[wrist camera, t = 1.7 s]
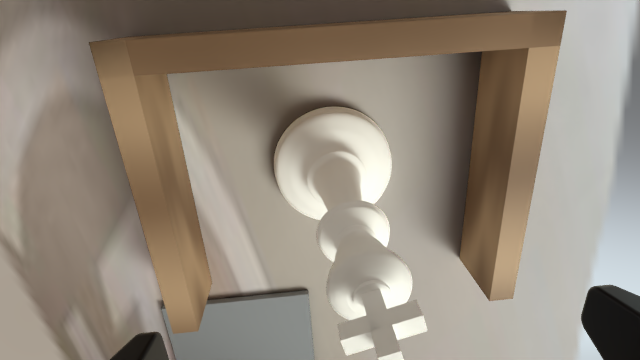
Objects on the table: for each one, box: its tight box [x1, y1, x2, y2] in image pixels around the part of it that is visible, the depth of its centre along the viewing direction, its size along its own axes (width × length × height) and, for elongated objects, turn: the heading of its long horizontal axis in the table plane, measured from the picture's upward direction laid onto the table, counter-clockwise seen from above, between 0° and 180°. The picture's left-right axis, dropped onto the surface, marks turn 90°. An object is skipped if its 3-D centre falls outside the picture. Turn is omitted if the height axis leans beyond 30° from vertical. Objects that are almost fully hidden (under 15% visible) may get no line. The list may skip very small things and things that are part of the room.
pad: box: [161, 290, 314, 360], centre depth 20 cm, size 7×7×1 cm
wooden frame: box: [89, 11, 567, 334], centre depth 15 cm, size 11×14×3 cm
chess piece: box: [274, 107, 427, 360], centre depth 11 cm, size 5×5×10 cm
